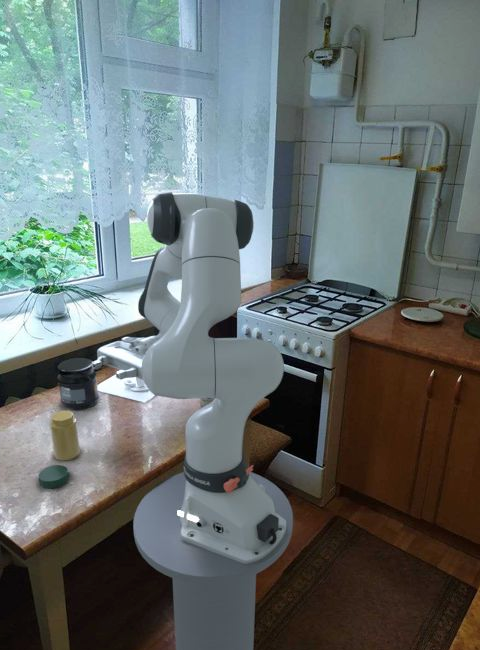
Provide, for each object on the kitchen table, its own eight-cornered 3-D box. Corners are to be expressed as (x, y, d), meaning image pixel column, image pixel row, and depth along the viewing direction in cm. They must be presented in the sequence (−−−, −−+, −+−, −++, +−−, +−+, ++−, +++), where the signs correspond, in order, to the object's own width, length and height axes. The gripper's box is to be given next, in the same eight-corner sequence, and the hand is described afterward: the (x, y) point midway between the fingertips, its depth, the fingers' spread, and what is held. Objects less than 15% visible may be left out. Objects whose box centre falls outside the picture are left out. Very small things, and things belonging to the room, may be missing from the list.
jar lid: (37, 477, 112) (35, 470, 111) (65, 468, 115) (64, 461, 114) (43, 491, 107) (41, 484, 106) (71, 482, 110) (71, 475, 110)
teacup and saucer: (120, 388, 154) (119, 376, 152) (135, 378, 160) (135, 367, 159) (143, 394, 151) (143, 382, 149) (158, 383, 157) (158, 372, 156)
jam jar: (84, 452, 121) (80, 414, 117) (63, 463, 117) (58, 424, 113) (70, 444, 124) (65, 407, 120) (49, 454, 120) (43, 416, 116)
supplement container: (99, 392, 151) (96, 355, 146) (98, 408, 142) (94, 370, 137) (62, 395, 148) (58, 358, 144) (59, 412, 139) (53, 373, 134)
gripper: (175, 375, 130) (134, 394, 120) (123, 355, 141) (81, 371, 131) (174, 353, 128) (132, 370, 117) (121, 335, 139) (79, 349, 128)
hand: (105, 371), depth 124 cm, fingers open, 8 cm apart
